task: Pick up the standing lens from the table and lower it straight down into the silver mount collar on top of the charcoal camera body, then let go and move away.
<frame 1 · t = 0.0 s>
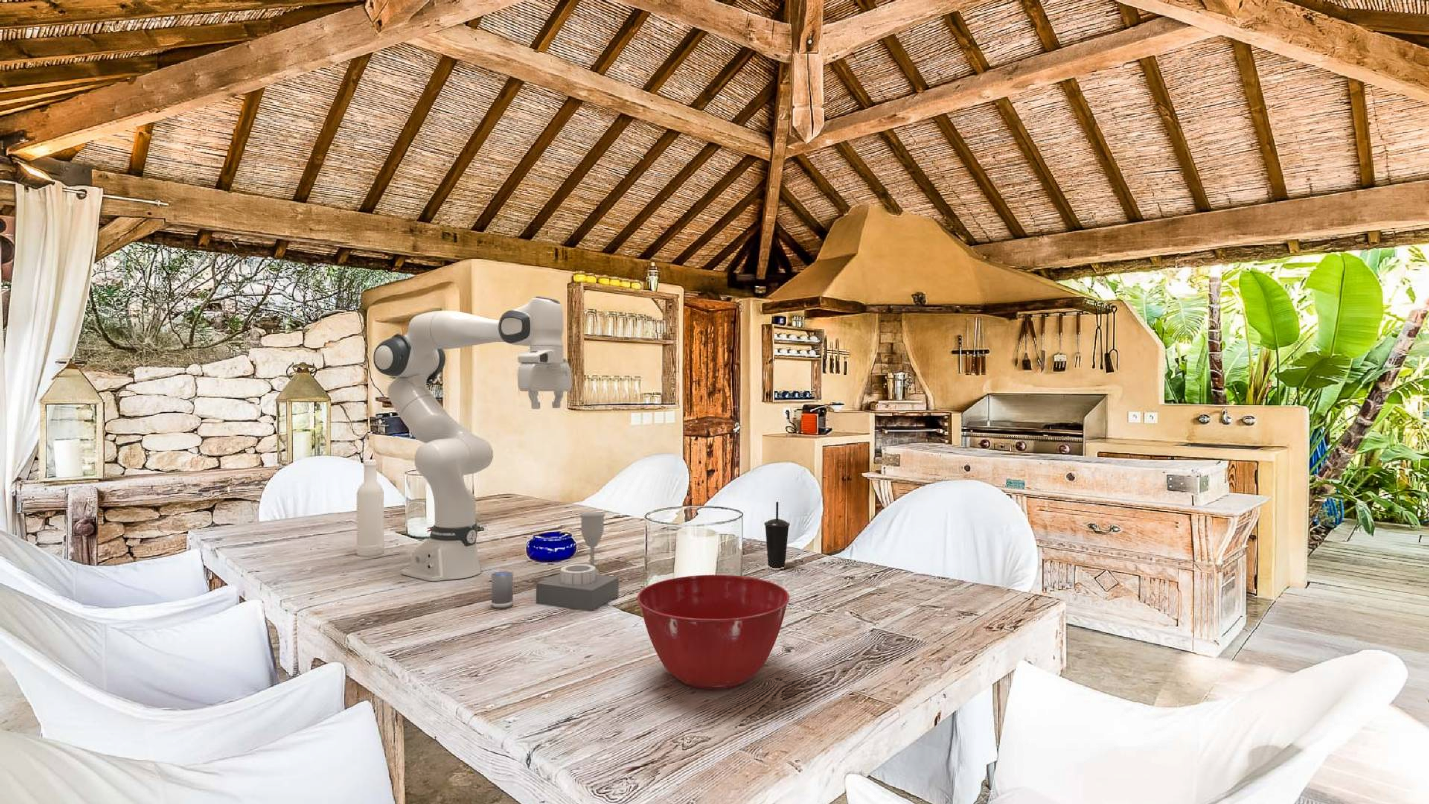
hand: (546, 408, 194), 48 cm above the table, tool pointing down, fingers open, 8 cm apart
bottle: (370, 554, 230), on the table
lens: (502, 606, 176), on the table
camera body: (577, 599, 182), on the table
mixing bowl: (712, 676, 135), on the table
chalice: (592, 578, 204), on the table
drinking cup: (776, 569, 216), on the table
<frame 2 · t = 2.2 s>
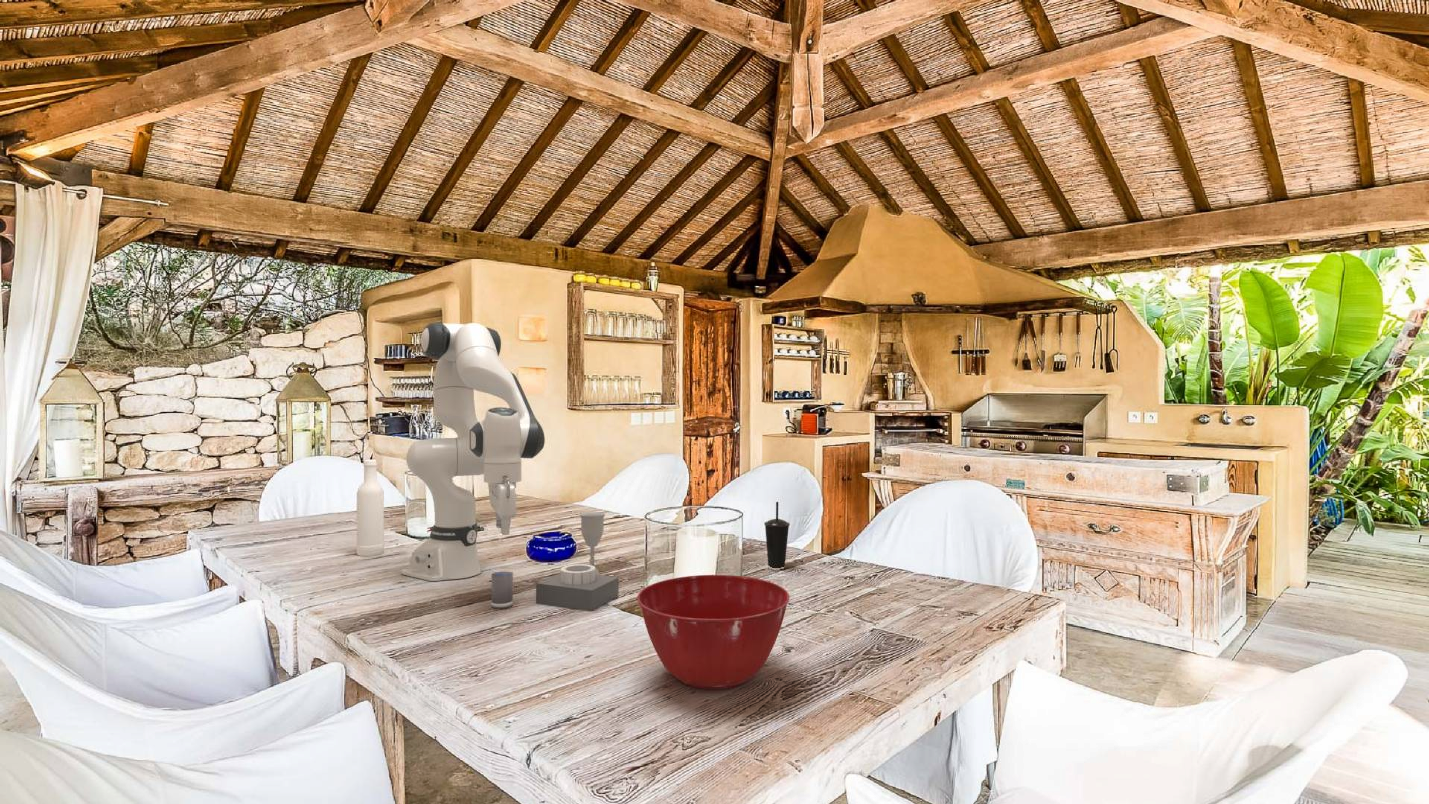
hand: (502, 531, 176), 19 cm above the table, tool pointing down, fingers open, 8 cm apart
nothing on the table moved.
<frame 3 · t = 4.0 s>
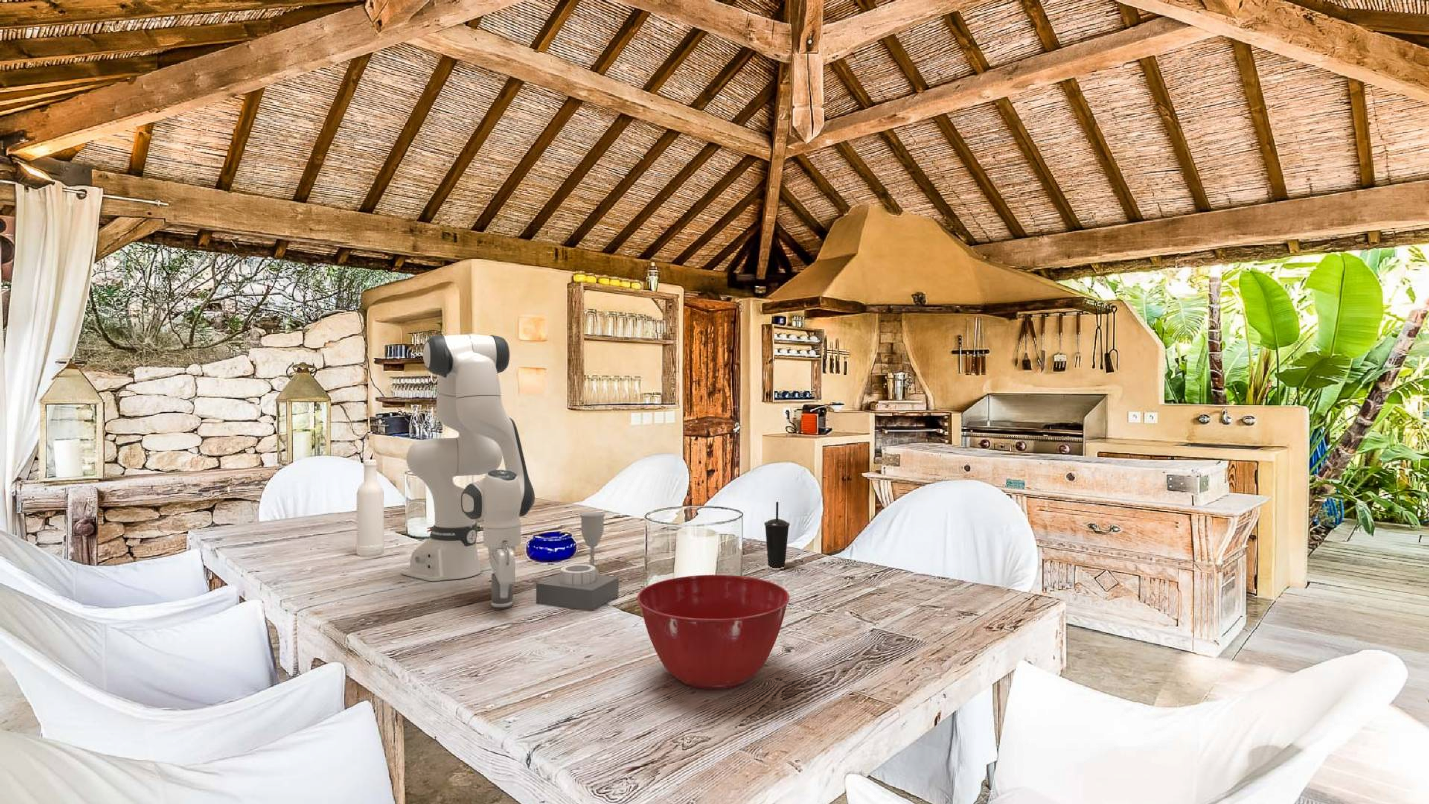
hand: (502, 593, 176), 3 cm above the table, tool pointing down, fingers closed on lens, 5 cm apart
lens: (502, 606, 176), on the table, touching gripper
everything else where it was.
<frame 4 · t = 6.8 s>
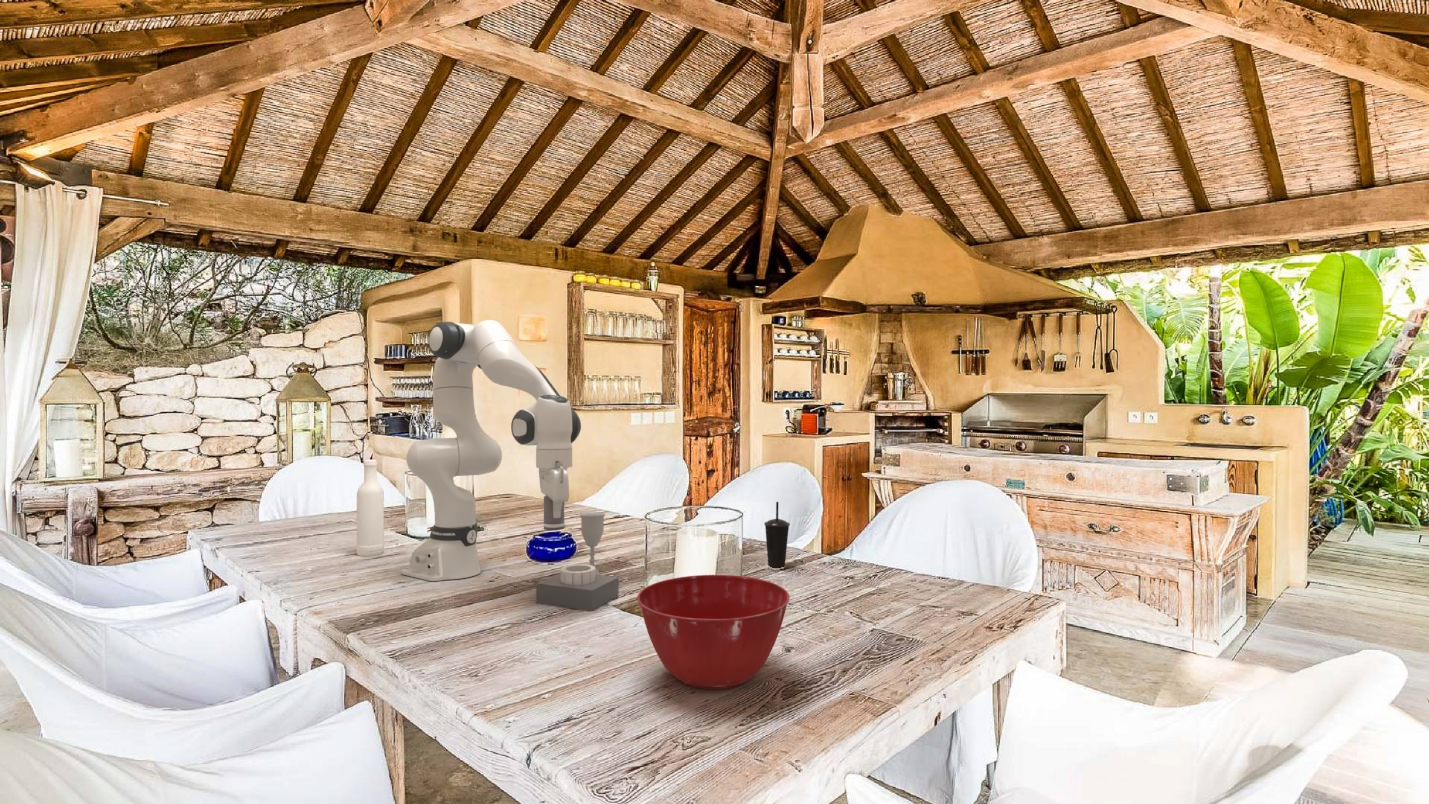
hand: (554, 515, 179), 22 cm above the table, tool pointing down, fingers closed on lens, 5 cm apart
lens: (554, 528, 179), point 19 cm above the table, touching gripper
everything else where it was.
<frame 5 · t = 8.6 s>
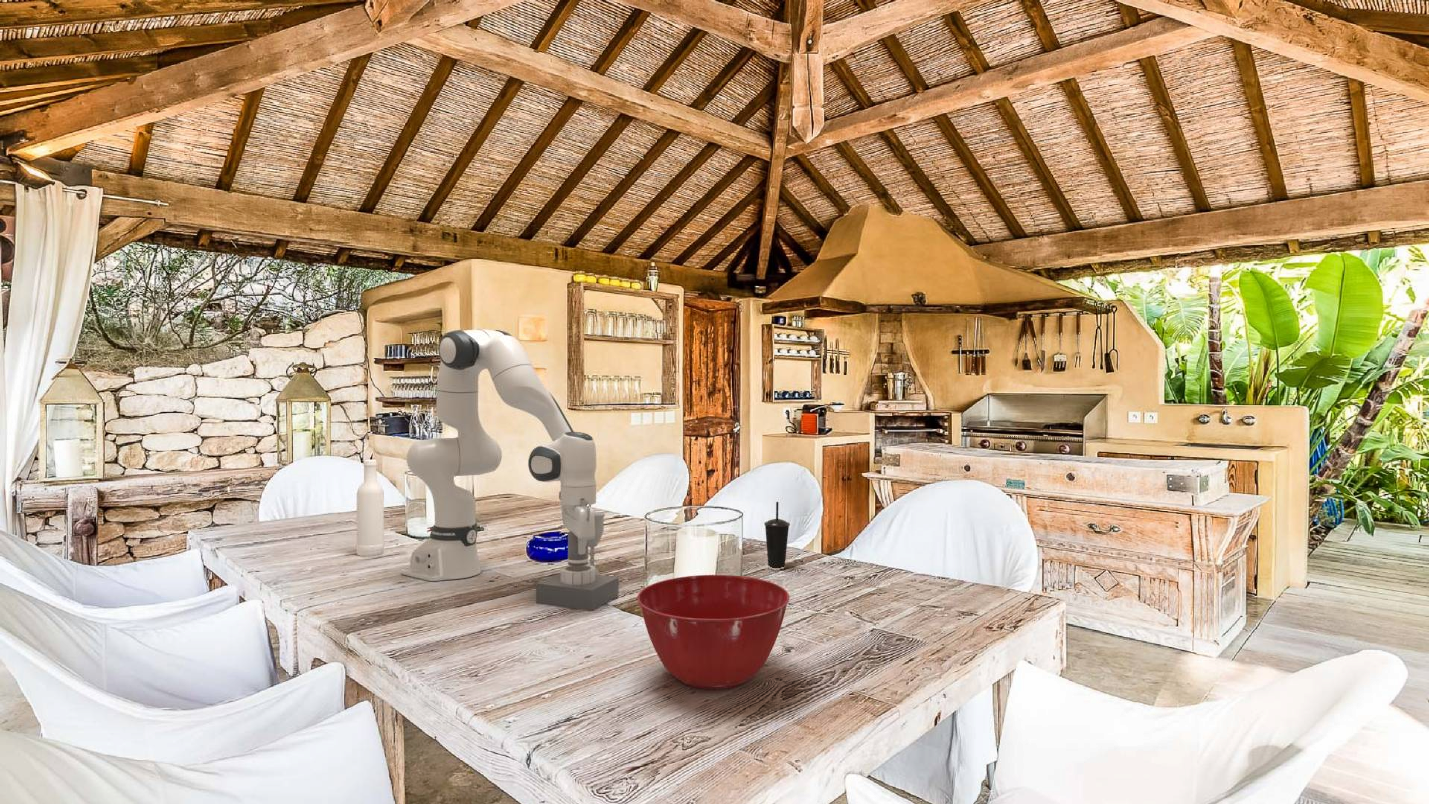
hand: (578, 551, 182), 12 cm above the table, tool pointing down, fingers closed on lens, 5 cm apart
lens: (578, 563, 182), point 9 cm above the table, touching gripper
everything else where it was.
when the fingers open (9 cm above the table, at t = 9.9 s): lens stays where it is, resting on camera body.
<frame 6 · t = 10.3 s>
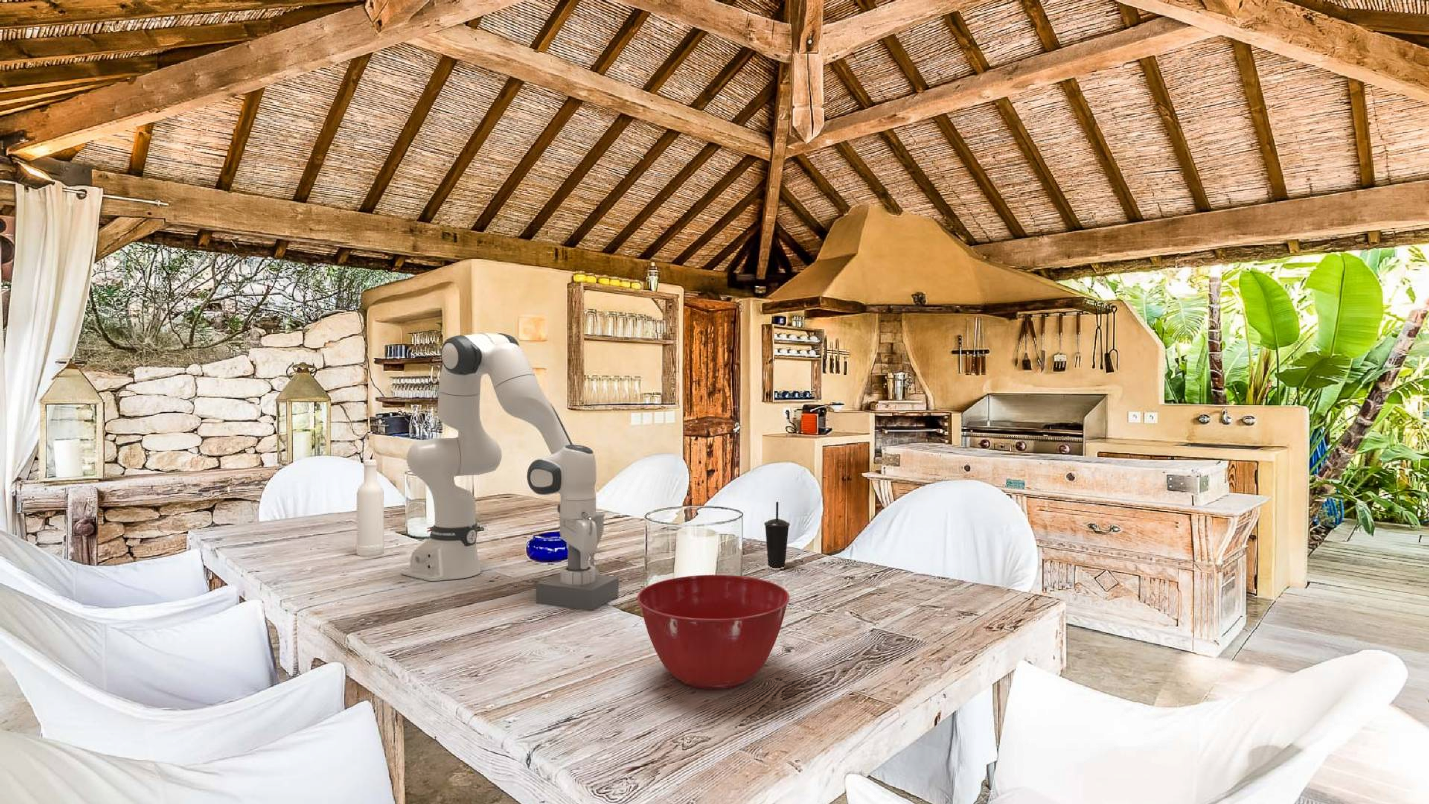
hand: (578, 564, 182), 9 cm above the table, tool pointing down, fingers open, 8 cm apart
lens: (577, 580, 182), point 5 cm above the table, touching camera body
everything else where it was.
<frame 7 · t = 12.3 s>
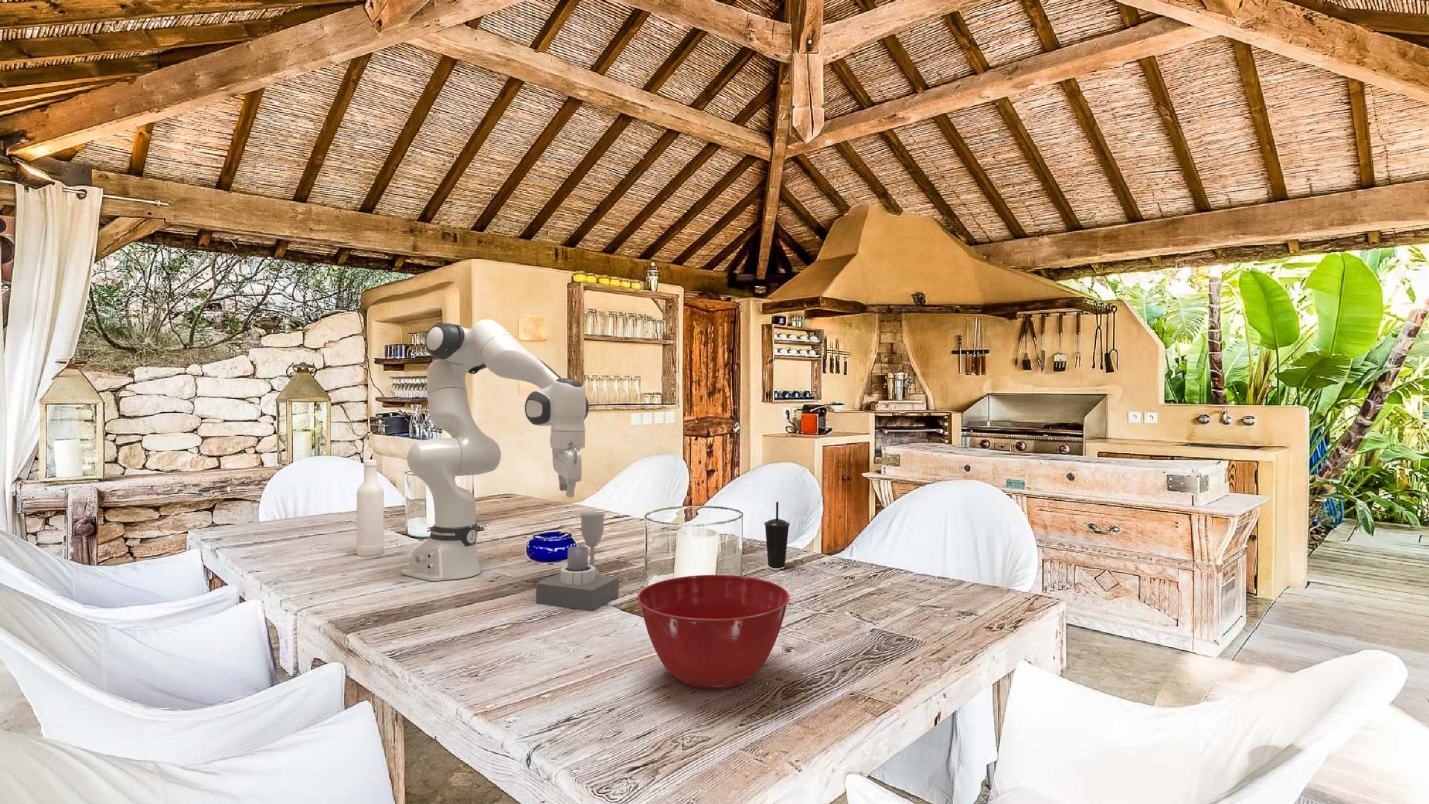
hand: (566, 493, 189), 26 cm above the table, tool pointing down, fingers open, 8 cm apart
nothing on the table moved.
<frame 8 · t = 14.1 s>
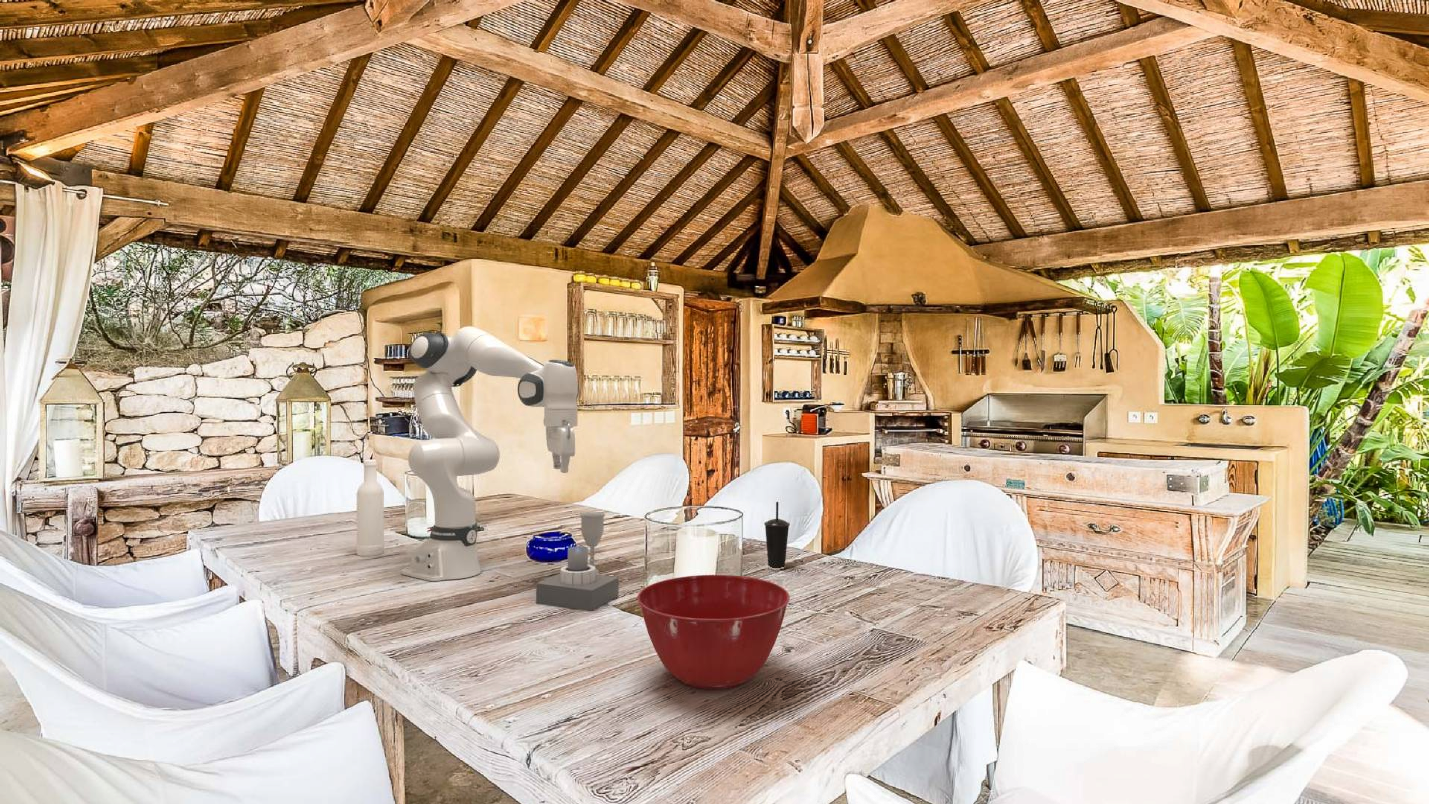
hand: (560, 470, 195), 31 cm above the table, tool pointing down, fingers open, 8 cm apart
nothing on the table moved.
at the end: lens 0.1 cm off-centre on the camera body, point 5.0 cm above the camera body's base; lens tilted 0°; the gripper is holding nothing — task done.
